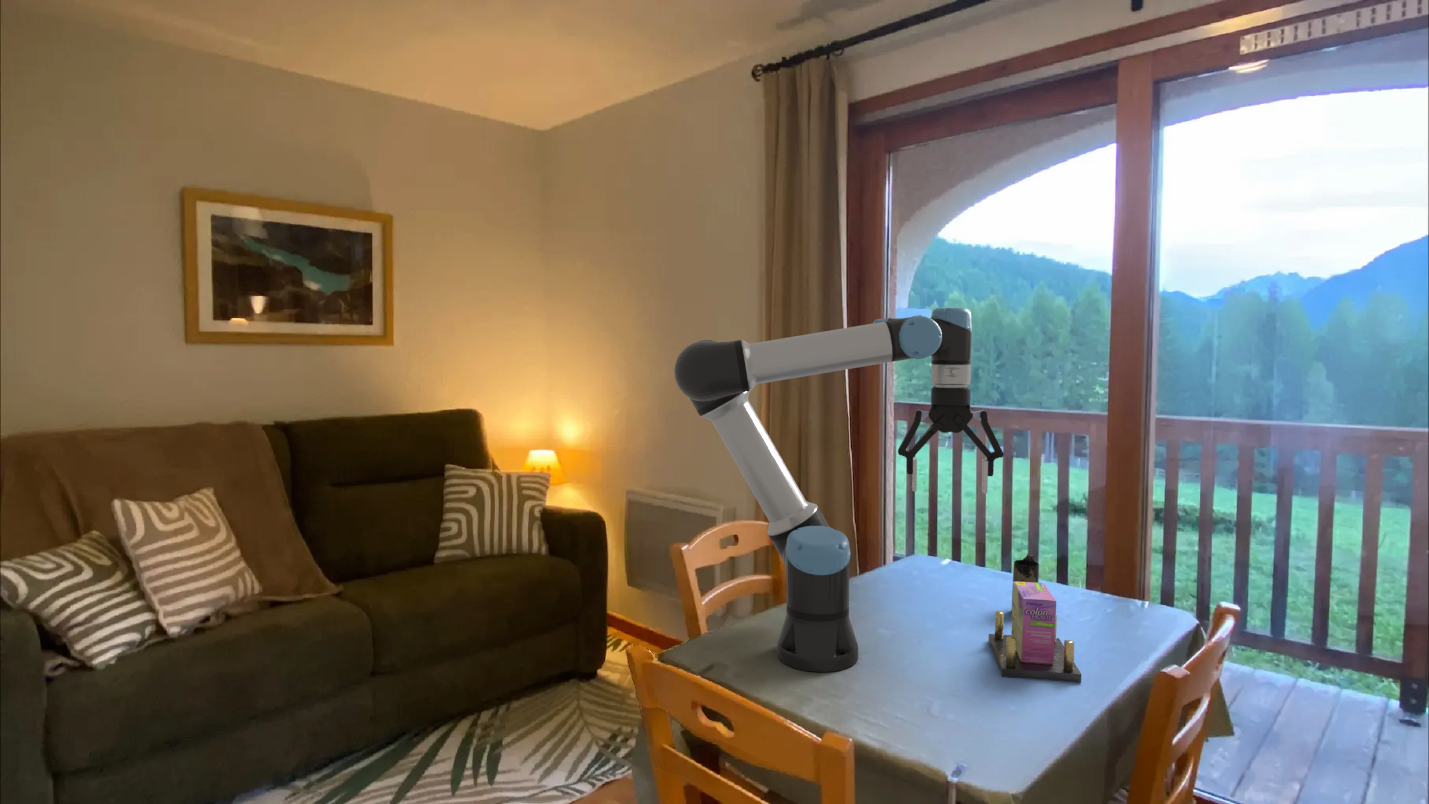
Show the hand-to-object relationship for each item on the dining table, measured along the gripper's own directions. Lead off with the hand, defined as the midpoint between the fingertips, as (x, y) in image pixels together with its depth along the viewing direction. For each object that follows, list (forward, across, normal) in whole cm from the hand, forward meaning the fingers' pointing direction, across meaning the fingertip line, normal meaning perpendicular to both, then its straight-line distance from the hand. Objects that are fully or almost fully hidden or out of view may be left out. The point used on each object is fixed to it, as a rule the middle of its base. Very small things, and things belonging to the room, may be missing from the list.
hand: (949, 491), depth 161 cm
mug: (+29, +18, +15) cm, 37 cm away
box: (+27, +14, -13) cm, 33 cm away
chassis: (+29, +14, -13) cm, 34 cm away
